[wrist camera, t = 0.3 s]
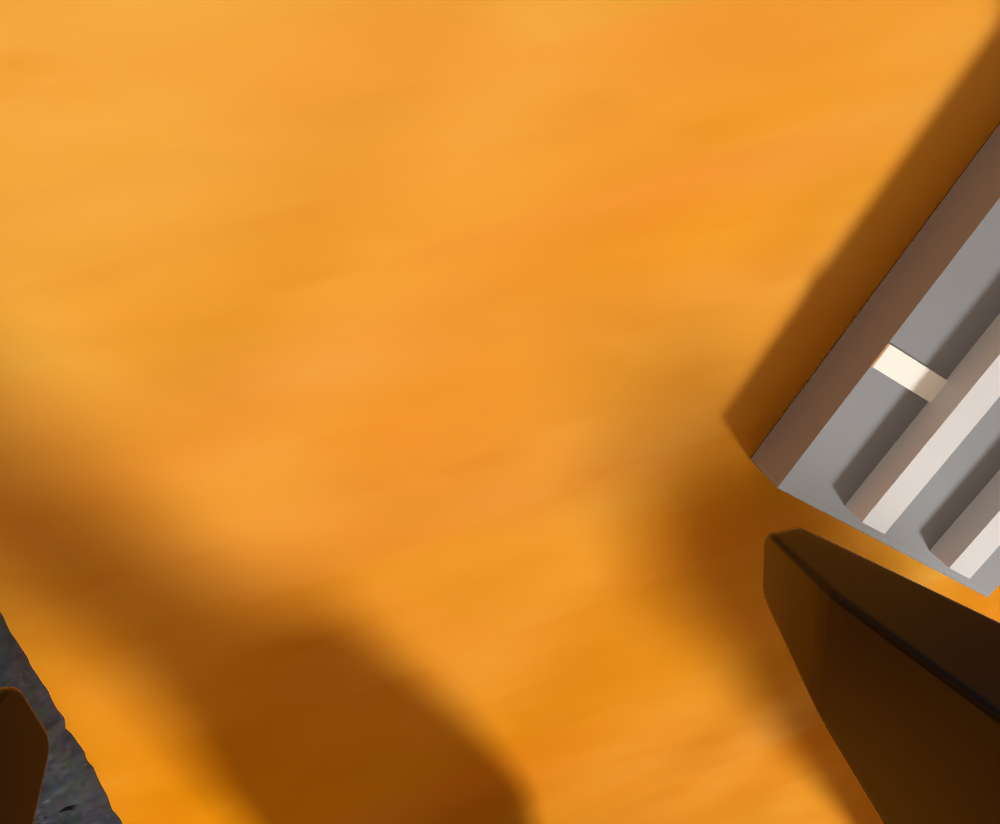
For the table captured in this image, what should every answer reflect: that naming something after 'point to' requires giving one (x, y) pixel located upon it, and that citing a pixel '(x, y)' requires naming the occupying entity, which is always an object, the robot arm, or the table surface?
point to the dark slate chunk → (55, 749)
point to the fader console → (914, 398)
